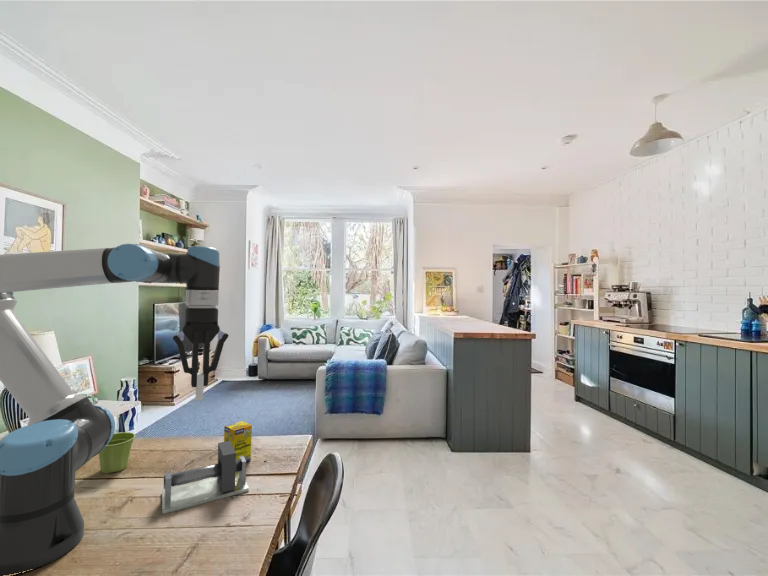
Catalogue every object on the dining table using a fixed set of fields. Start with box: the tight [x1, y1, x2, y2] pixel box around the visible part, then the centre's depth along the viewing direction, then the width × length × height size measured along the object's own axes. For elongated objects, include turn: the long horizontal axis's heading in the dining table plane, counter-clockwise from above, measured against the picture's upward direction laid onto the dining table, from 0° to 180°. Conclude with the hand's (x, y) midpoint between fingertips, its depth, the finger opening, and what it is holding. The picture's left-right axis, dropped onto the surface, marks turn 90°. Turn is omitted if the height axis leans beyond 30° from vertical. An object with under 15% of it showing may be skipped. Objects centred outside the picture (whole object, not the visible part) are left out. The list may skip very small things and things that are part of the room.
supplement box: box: [223, 420, 253, 463], centre depth 107 cm, size 6×6×11 cm
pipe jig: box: [161, 456, 250, 515], centre depth 90 cm, size 19×10×7 cm, turn 123°
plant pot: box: [98, 431, 136, 474], centre depth 102 cm, size 9×9×9 cm
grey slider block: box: [217, 441, 236, 493], centre depth 93 cm, size 3×9×9 cm, turn 33°
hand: (199, 399), depth 90 cm, fingers closed
